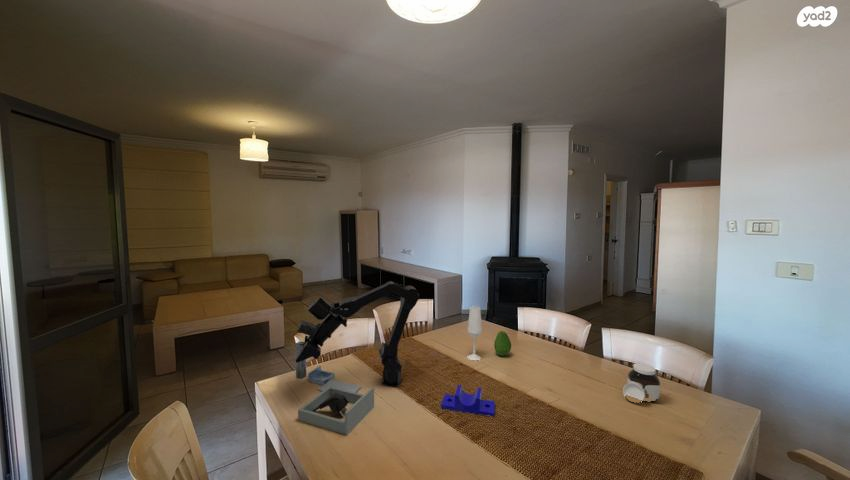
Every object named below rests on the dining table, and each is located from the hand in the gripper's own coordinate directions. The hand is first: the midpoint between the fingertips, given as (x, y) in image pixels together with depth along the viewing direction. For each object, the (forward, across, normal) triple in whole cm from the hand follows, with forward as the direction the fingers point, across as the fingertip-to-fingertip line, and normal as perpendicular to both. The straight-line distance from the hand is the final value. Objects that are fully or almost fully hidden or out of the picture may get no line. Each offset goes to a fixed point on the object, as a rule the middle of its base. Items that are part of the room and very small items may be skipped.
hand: (296, 359), depth 120 cm
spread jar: (-76, +35, +96) cm, 127 cm away
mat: (-1, 0, +20) cm, 20 cm away
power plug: (+2, +15, +18) cm, 23 cm away
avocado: (-54, -12, +74) cm, 93 cm away
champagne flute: (-44, -13, +64) cm, 79 cm away
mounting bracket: (-31, +23, +51) cm, 64 cm away
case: (0, +15, +19) cm, 25 cm away
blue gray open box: (+4, -9, +16) cm, 18 cm away
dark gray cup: (+4, 0, +6) cm, 7 cm away
